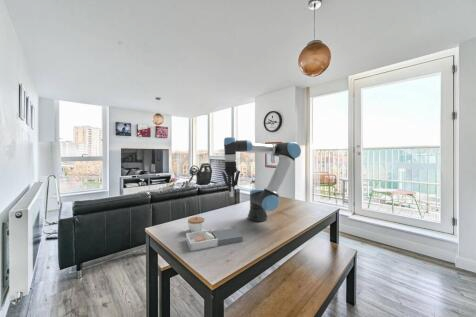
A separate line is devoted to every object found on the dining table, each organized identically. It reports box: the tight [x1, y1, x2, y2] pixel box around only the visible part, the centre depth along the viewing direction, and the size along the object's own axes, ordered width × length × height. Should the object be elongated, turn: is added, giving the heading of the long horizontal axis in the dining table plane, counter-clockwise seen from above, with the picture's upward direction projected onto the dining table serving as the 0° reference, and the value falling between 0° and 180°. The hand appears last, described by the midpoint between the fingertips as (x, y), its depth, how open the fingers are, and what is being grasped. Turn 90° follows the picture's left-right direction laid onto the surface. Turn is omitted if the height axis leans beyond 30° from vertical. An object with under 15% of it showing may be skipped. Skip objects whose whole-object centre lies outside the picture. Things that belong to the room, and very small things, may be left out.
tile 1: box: [195, 236, 206, 242], centre depth 114 cm, size 5×5×2 cm
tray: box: [185, 229, 219, 252], centre depth 114 cm, size 15×15×4 cm
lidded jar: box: [187, 216, 205, 232], centre depth 132 cm, size 11×11×9 cm
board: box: [211, 227, 244, 247], centre depth 120 cm, size 15×14×3 cm
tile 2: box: [203, 232, 215, 240], centre depth 116 cm, size 5×5×2 cm
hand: (231, 196), depth 132 cm, fingers closed
